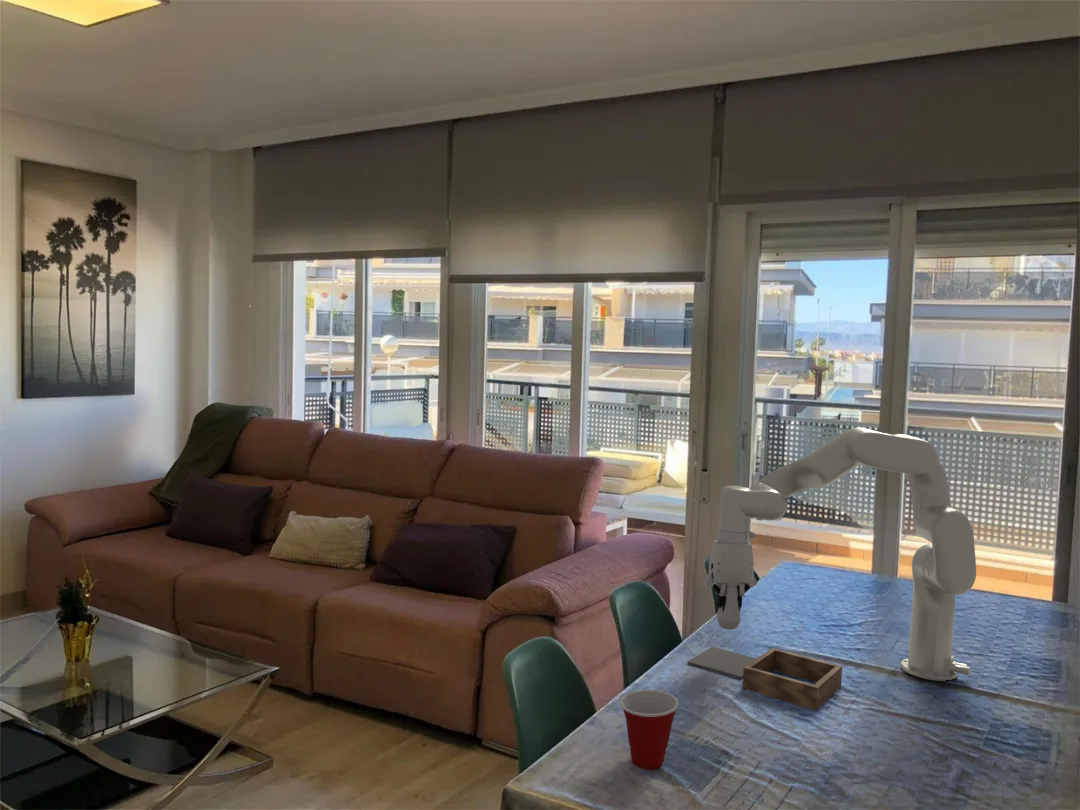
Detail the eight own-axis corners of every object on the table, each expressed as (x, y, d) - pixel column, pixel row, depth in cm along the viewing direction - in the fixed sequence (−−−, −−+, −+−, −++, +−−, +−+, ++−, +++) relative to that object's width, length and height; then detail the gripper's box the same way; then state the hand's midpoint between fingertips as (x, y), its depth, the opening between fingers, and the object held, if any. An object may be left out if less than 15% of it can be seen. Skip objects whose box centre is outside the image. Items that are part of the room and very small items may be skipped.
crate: (840, 686, 198) (842, 666, 198) (816, 710, 185) (817, 688, 185) (770, 667, 209) (772, 647, 208) (742, 688, 195) (743, 667, 195)
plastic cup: (612, 748, 164) (615, 687, 163) (667, 748, 165) (670, 687, 164) (622, 777, 153) (625, 712, 152) (681, 777, 154) (685, 712, 153)
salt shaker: (740, 631, 206) (743, 579, 205) (716, 629, 207) (719, 576, 206) (739, 624, 212) (743, 572, 211) (716, 621, 213) (719, 570, 212)
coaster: (764, 662, 212) (764, 660, 212) (741, 679, 201) (741, 676, 200) (712, 648, 220) (712, 646, 220) (687, 663, 209) (687, 661, 209)
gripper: (759, 533, 213) (754, 605, 214) (696, 532, 210) (692, 605, 212) (771, 540, 205) (766, 615, 207) (706, 540, 203) (702, 615, 204)
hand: (729, 609), depth 209 cm, fingers closed on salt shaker, 3 cm apart
